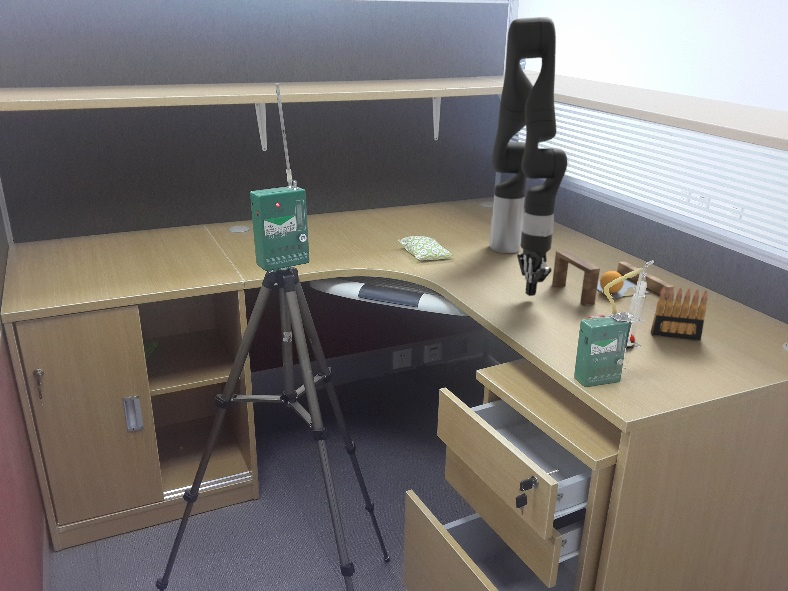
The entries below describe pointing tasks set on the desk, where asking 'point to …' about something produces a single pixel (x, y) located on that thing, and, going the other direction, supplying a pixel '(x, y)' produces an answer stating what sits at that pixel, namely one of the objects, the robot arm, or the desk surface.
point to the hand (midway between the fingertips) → (530, 294)
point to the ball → (609, 278)
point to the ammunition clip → (679, 316)
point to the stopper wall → (652, 281)
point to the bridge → (589, 269)
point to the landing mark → (620, 293)
